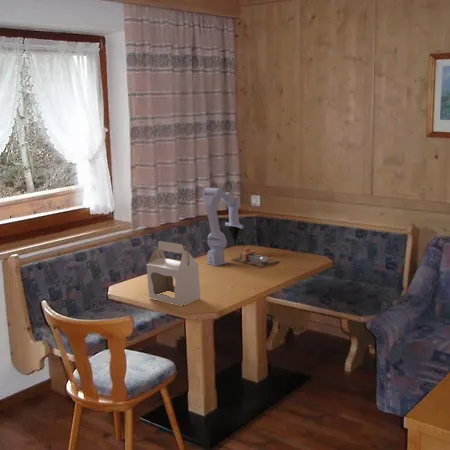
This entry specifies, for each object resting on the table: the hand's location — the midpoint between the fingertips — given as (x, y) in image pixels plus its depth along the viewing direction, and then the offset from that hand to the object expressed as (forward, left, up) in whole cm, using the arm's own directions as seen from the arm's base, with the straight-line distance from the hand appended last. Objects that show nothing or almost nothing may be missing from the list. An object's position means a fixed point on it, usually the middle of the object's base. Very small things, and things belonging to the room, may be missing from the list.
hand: (234, 238), depth 389 cm
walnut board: (-4, -21, -9) cm, 24 cm away
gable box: (-76, -42, -10) cm, 87 cm away
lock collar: (-6, -18, -8) cm, 21 cm away
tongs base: (-6, -23, -8) cm, 26 cm away
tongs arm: (-5, -21, -8) cm, 23 cm away
